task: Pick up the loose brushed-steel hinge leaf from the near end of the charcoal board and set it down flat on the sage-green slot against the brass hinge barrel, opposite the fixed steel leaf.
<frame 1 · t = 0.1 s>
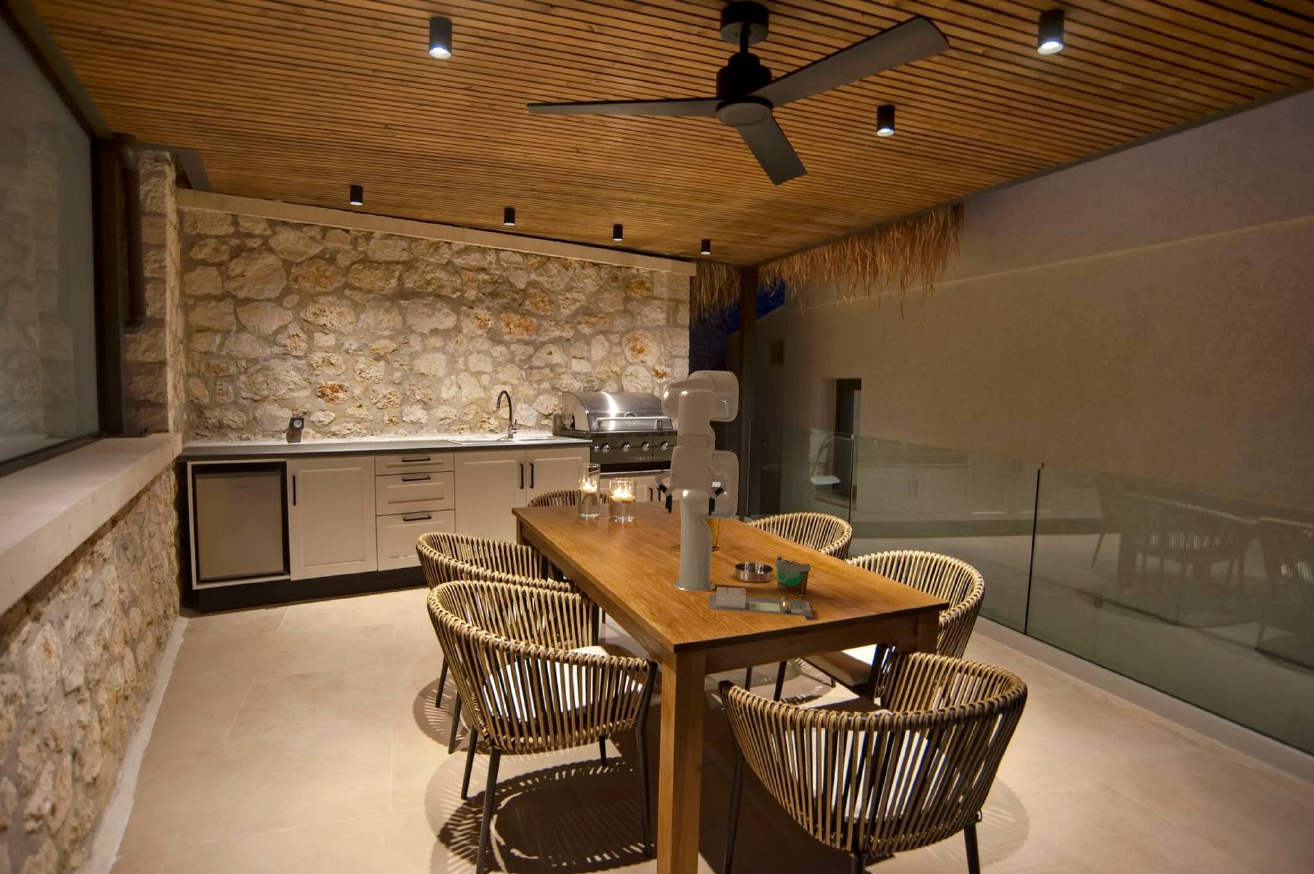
hand: (689, 513, 168), 31 cm above the table, tool pointing down, fingers open, 9 cm apart
loose leaf: (730, 604, 197), point 1 cm above the table, touching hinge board
food container: (786, 593, 214), on the table
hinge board: (758, 608, 198), on the table
fixed leaf: (785, 612, 196), resting on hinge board
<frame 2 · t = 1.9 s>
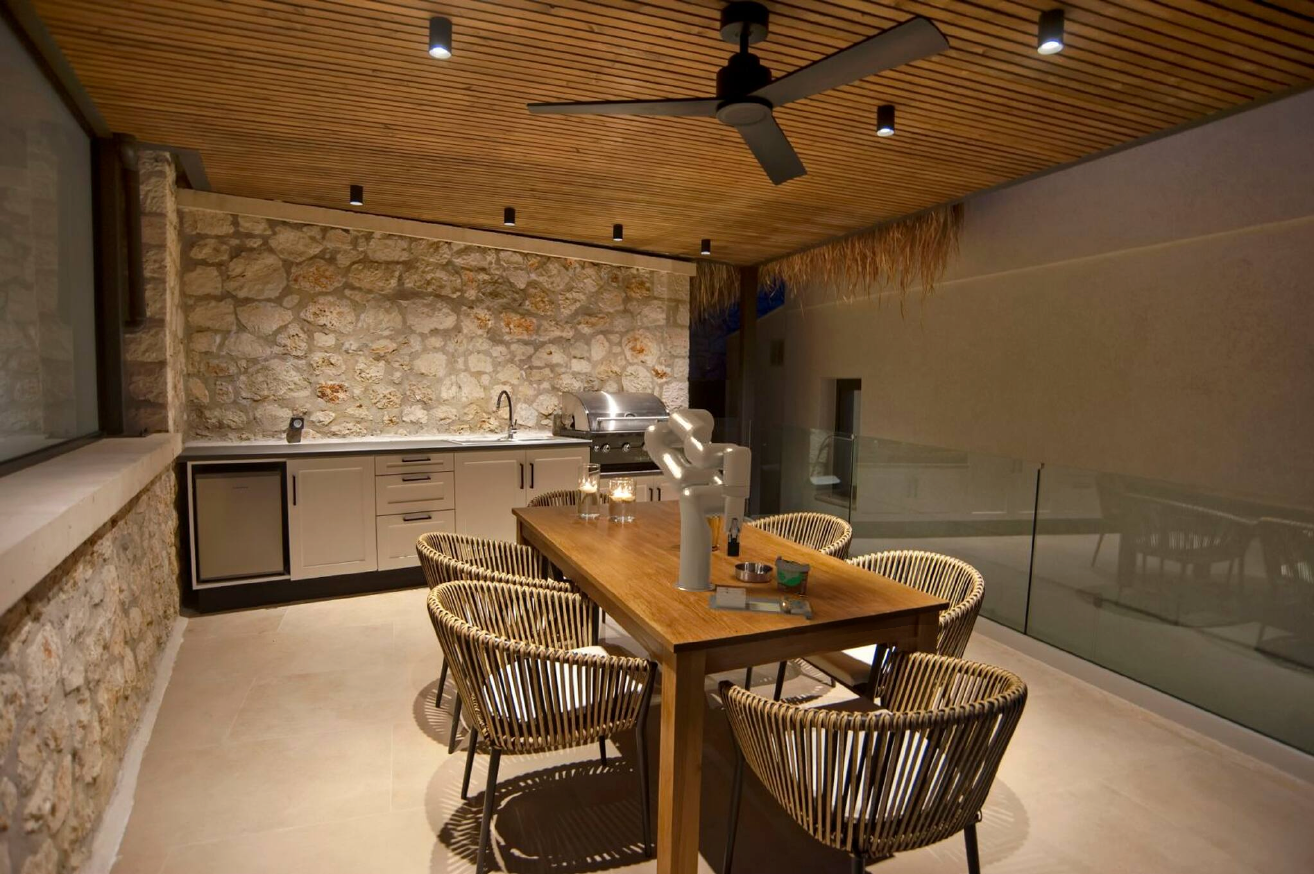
hand: (733, 552, 196), 16 cm above the table, tool pointing down, fingers open, 9 cm apart
nothing on the table moved.
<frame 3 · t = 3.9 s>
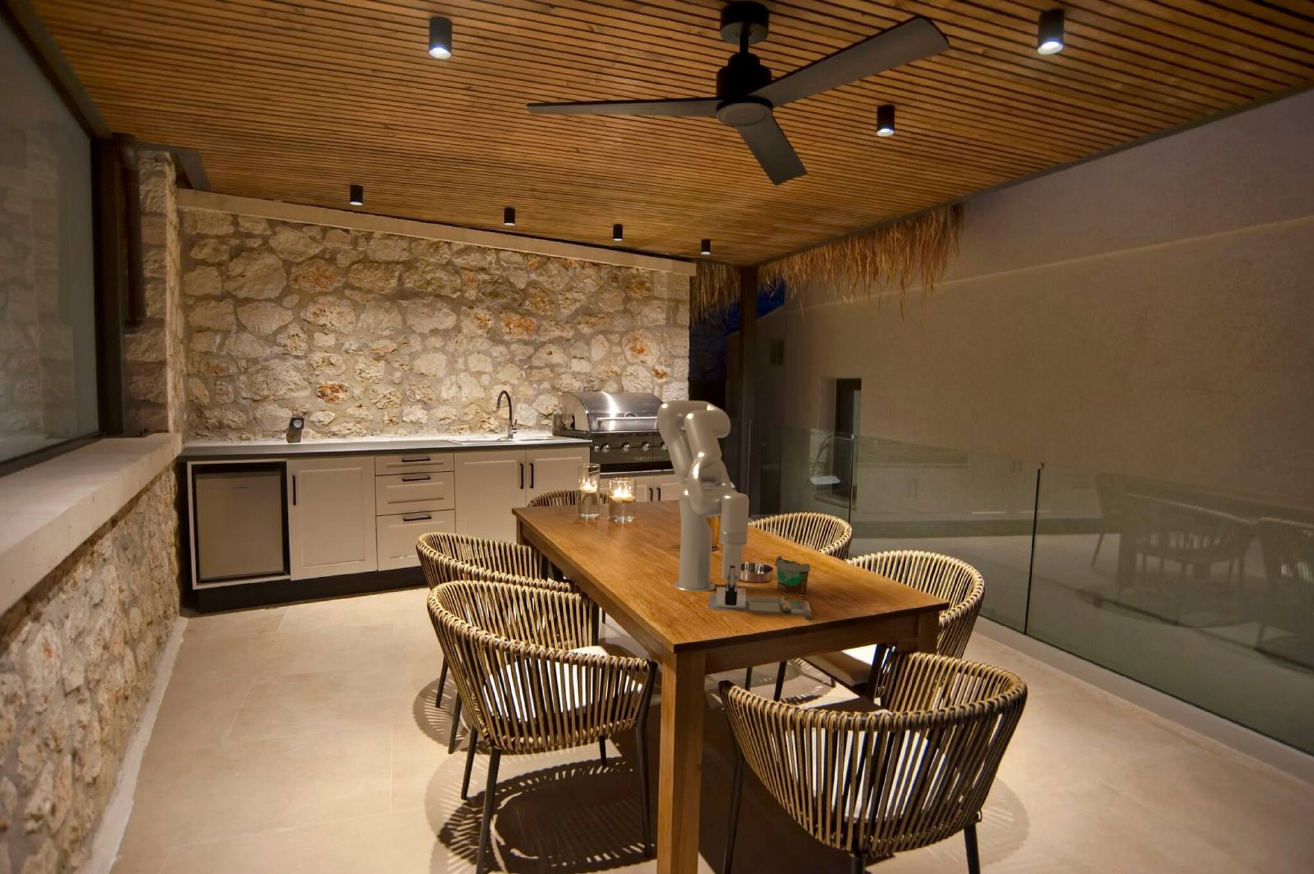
hand: (730, 600, 197), 2 cm above the table, tool pointing down, fingers closed on loose leaf, 6 cm apart
loose leaf: (730, 604, 197), point 1 cm above the table, touching gripper, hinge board
everything else where it was.
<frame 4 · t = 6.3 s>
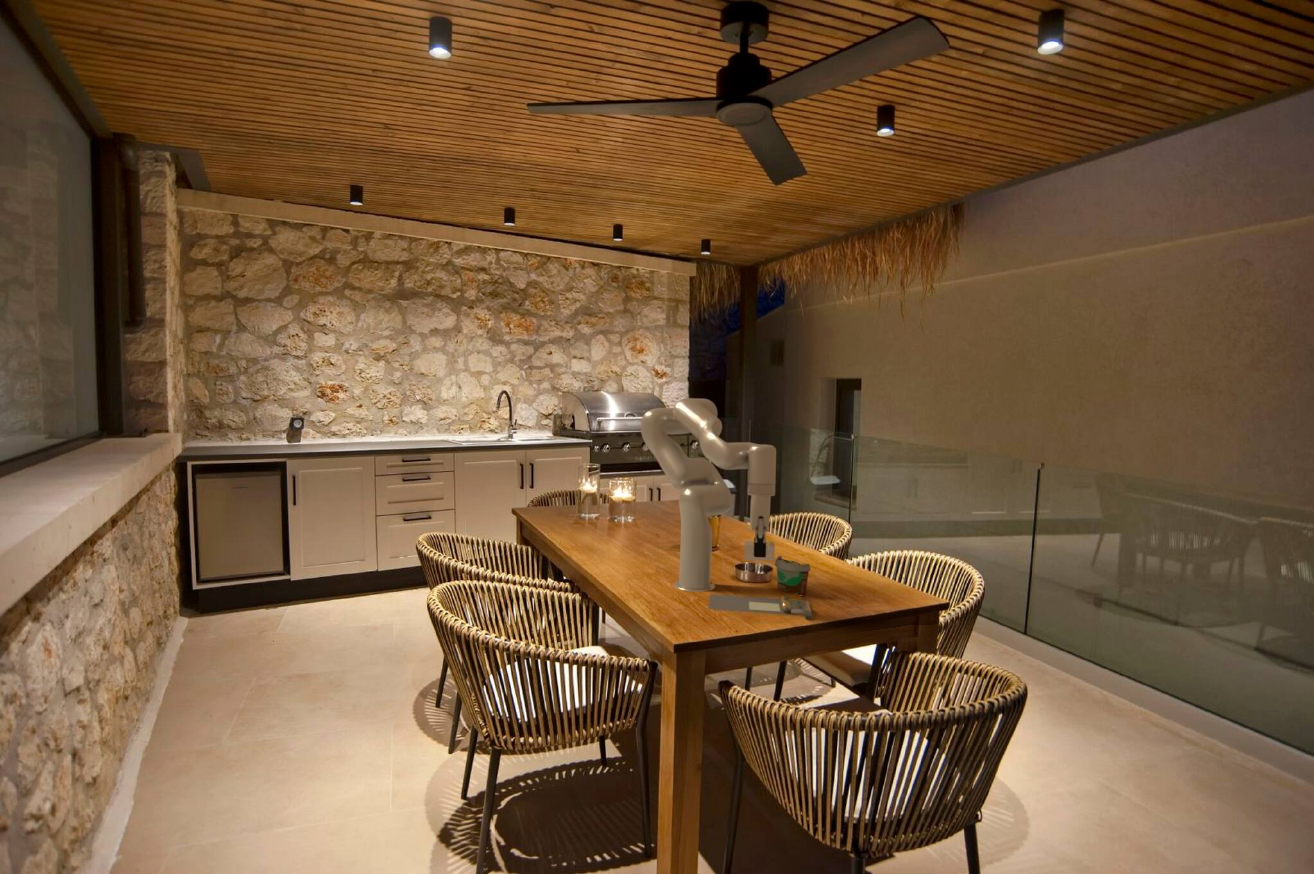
hand: (759, 553, 195), 16 cm above the table, tool pointing down, fingers closed on loose leaf, 6 cm apart
loose leaf: (759, 558, 195), point 15 cm above the table, touching gripper
everything else where it was.
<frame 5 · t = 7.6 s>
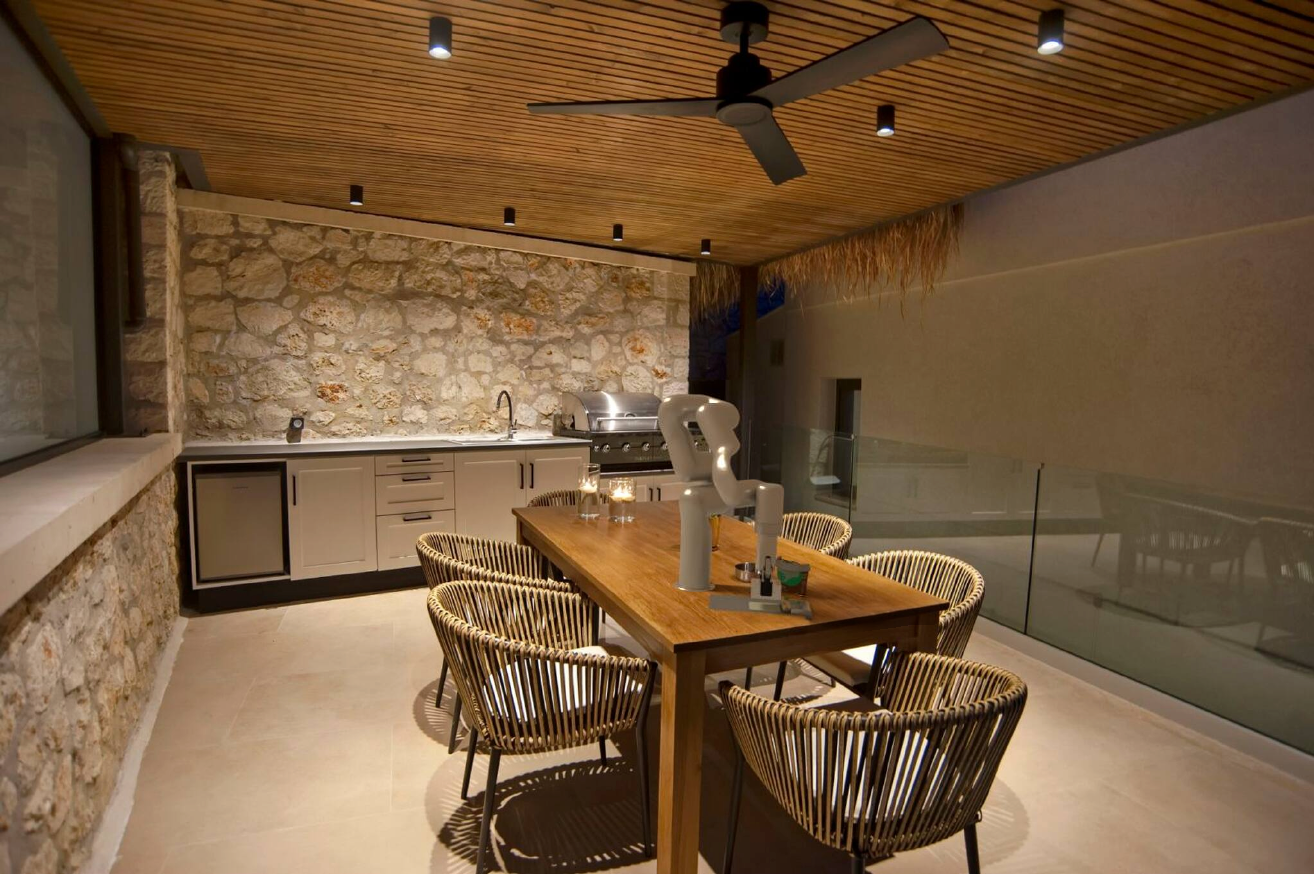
hand: (765, 591, 196), 5 cm above the table, tool pointing down, fingers closed on loose leaf, 6 cm apart
loose leaf: (765, 596, 196), point 4 cm above the table, touching gripper
everything else where it was.
when the fingers open (3 cm above the table, at t = 8.5 s): loose leaf stays where it is, resting on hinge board.
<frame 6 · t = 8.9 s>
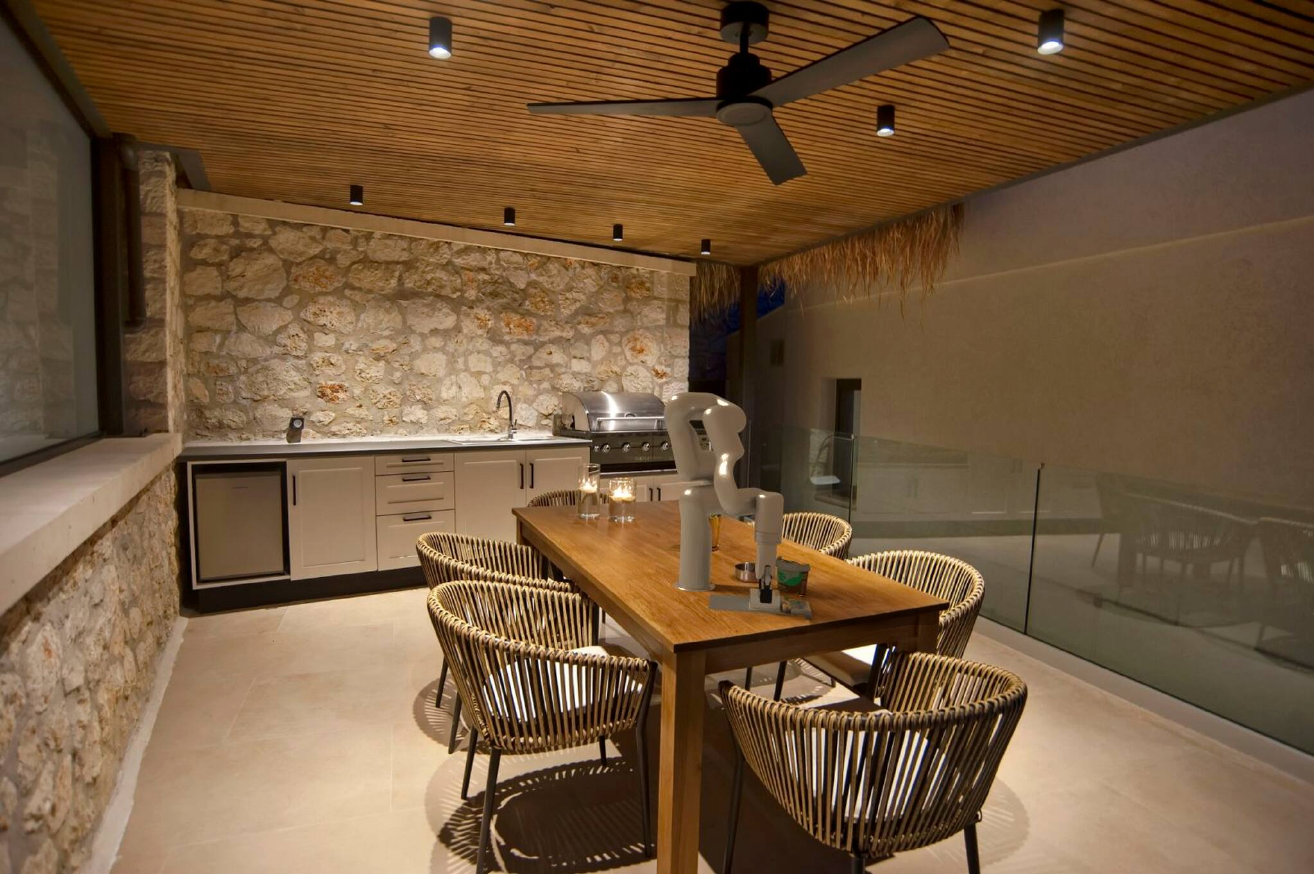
hand: (764, 597, 196), 4 cm above the table, tool pointing down, fingers open, 9 cm apart
loose leaf: (764, 606, 196), point 1 cm above the table, touching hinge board
everything else where it was.
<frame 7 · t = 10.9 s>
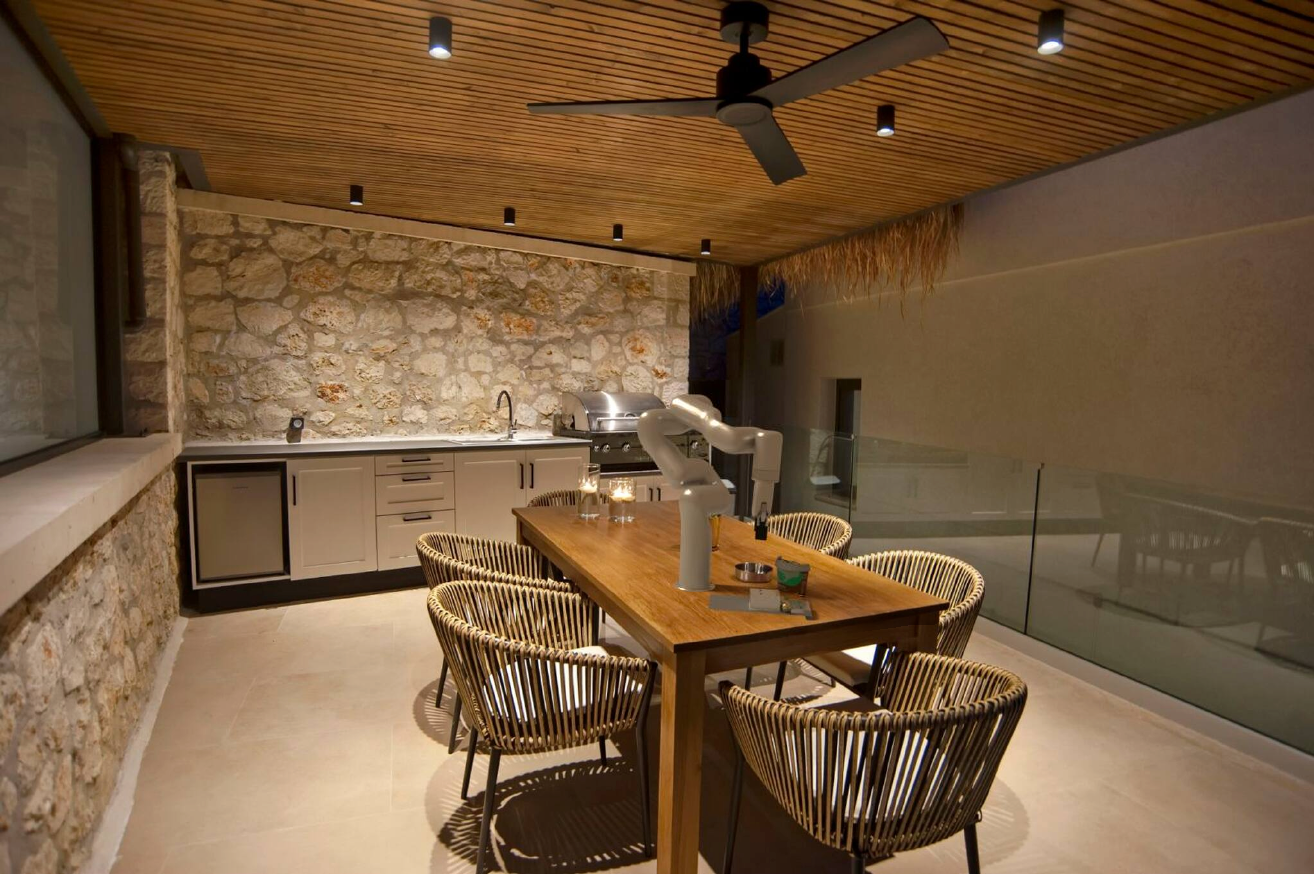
hand: (760, 535, 197), 21 cm above the table, tool pointing down, fingers open, 9 cm apart
nothing on the table moved.
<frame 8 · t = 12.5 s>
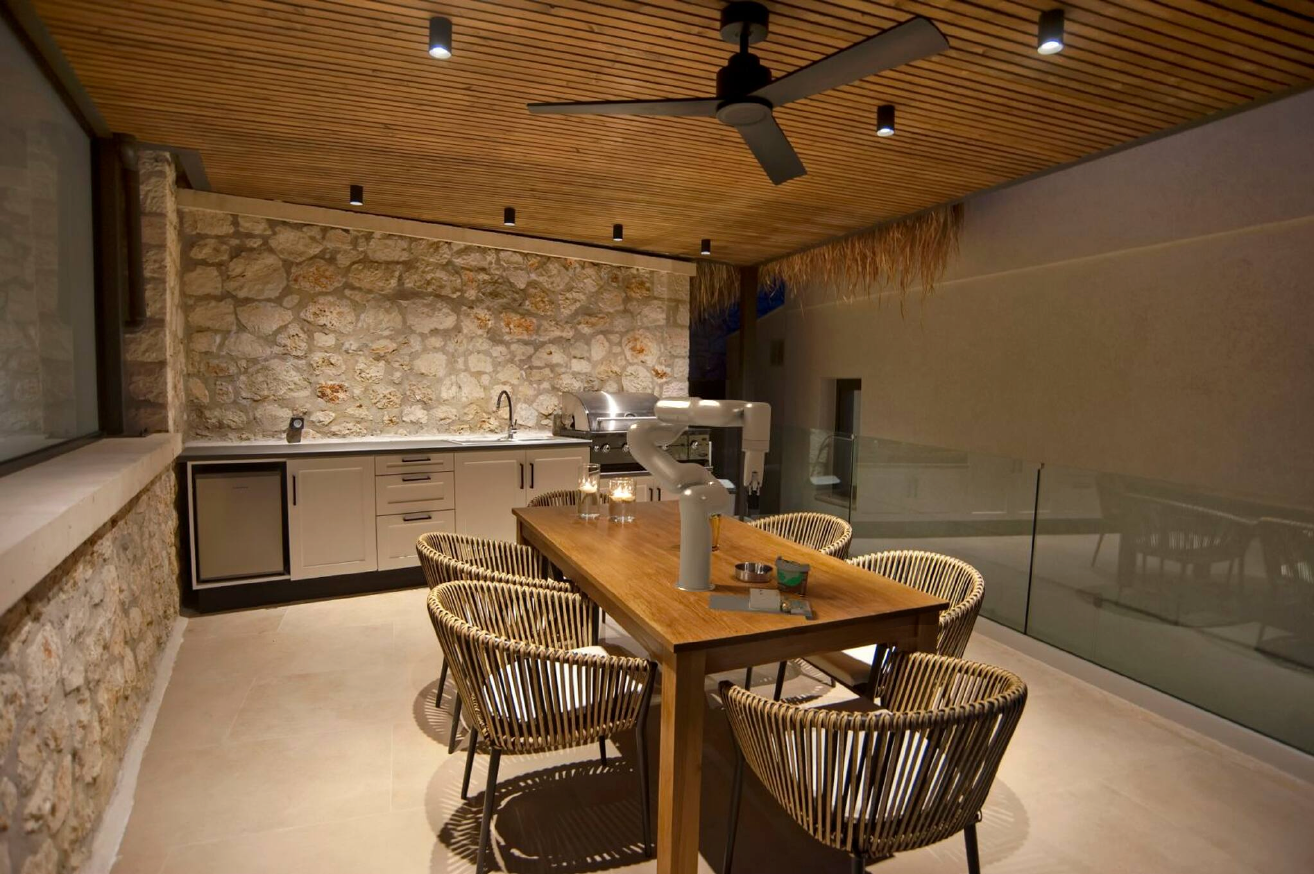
hand: (752, 506, 200), 28 cm above the table, tool pointing down, fingers open, 9 cm apart
nothing on the table moved.
at the end: loose leaf 0.1 cm from the target spot, point 1.2 cm above the table; loose leaf tilted 0°; the gripper is holding nothing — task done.
